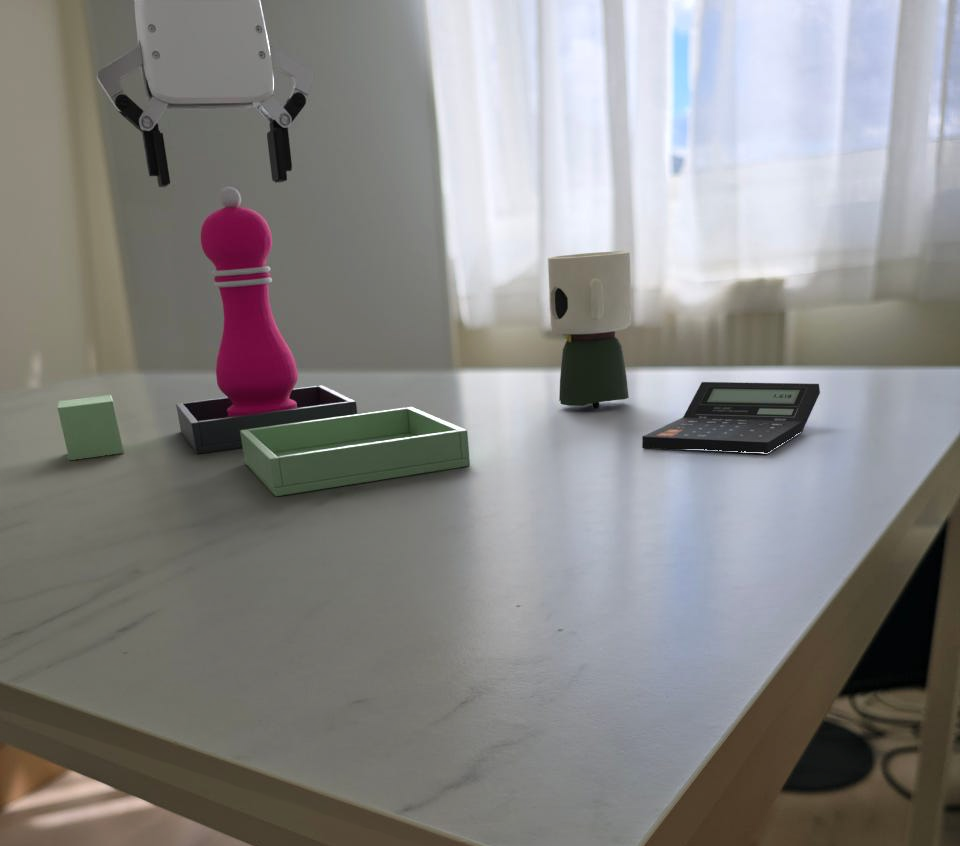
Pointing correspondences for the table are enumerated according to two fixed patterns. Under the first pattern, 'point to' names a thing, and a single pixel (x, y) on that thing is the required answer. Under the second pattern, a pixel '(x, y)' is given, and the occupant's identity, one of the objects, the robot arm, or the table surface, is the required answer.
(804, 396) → the calculator
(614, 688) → the table surface
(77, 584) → the table surface
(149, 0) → the robot arm
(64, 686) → the table surface
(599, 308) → the character mug
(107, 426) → the sage block
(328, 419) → the sage tray
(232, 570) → the table surface
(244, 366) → the pepper mill
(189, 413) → the dark tray
